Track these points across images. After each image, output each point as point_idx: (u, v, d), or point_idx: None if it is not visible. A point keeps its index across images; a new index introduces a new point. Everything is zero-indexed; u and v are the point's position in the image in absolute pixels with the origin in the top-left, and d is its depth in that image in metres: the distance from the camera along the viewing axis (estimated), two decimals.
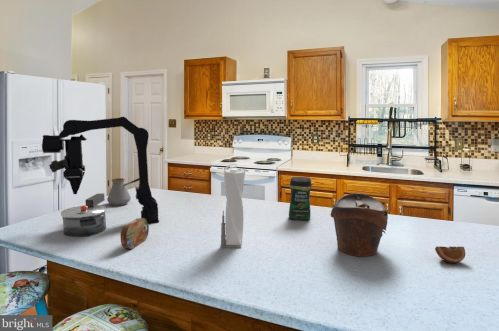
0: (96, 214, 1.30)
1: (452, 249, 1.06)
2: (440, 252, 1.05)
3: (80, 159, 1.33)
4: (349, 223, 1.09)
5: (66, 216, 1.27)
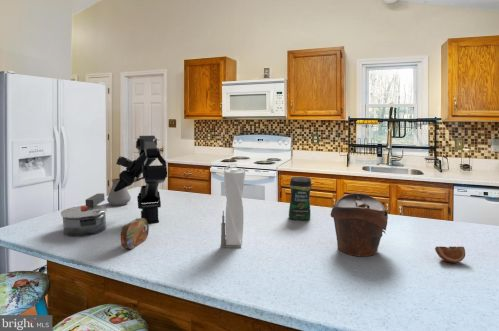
0: (96, 214, 1.30)
1: (452, 249, 1.06)
2: (440, 252, 1.05)
3: (141, 171, 1.46)
4: (349, 223, 1.09)
5: (66, 216, 1.27)
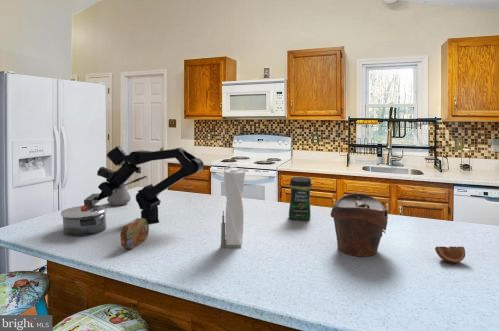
0: (98, 213, 1.31)
1: (452, 249, 1.06)
2: (440, 252, 1.05)
3: (122, 182, 1.45)
4: (349, 223, 1.09)
5: (68, 216, 1.27)
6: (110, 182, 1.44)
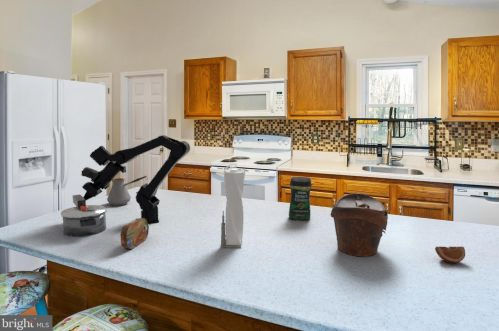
0: (104, 211, 1.34)
1: (452, 249, 1.06)
2: (440, 252, 1.05)
3: (107, 182, 1.44)
4: (349, 223, 1.09)
5: (78, 216, 1.26)
6: (95, 182, 1.43)
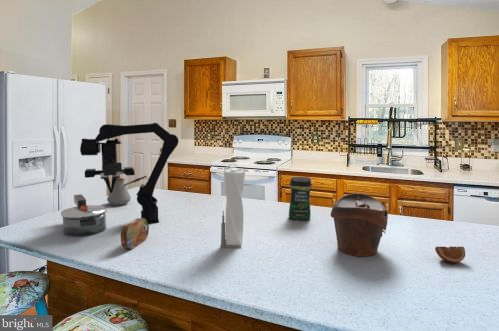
0: (104, 211, 1.34)
1: (452, 249, 1.06)
2: (440, 252, 1.05)
3: None
4: (349, 223, 1.09)
5: (77, 216, 1.26)
6: None
